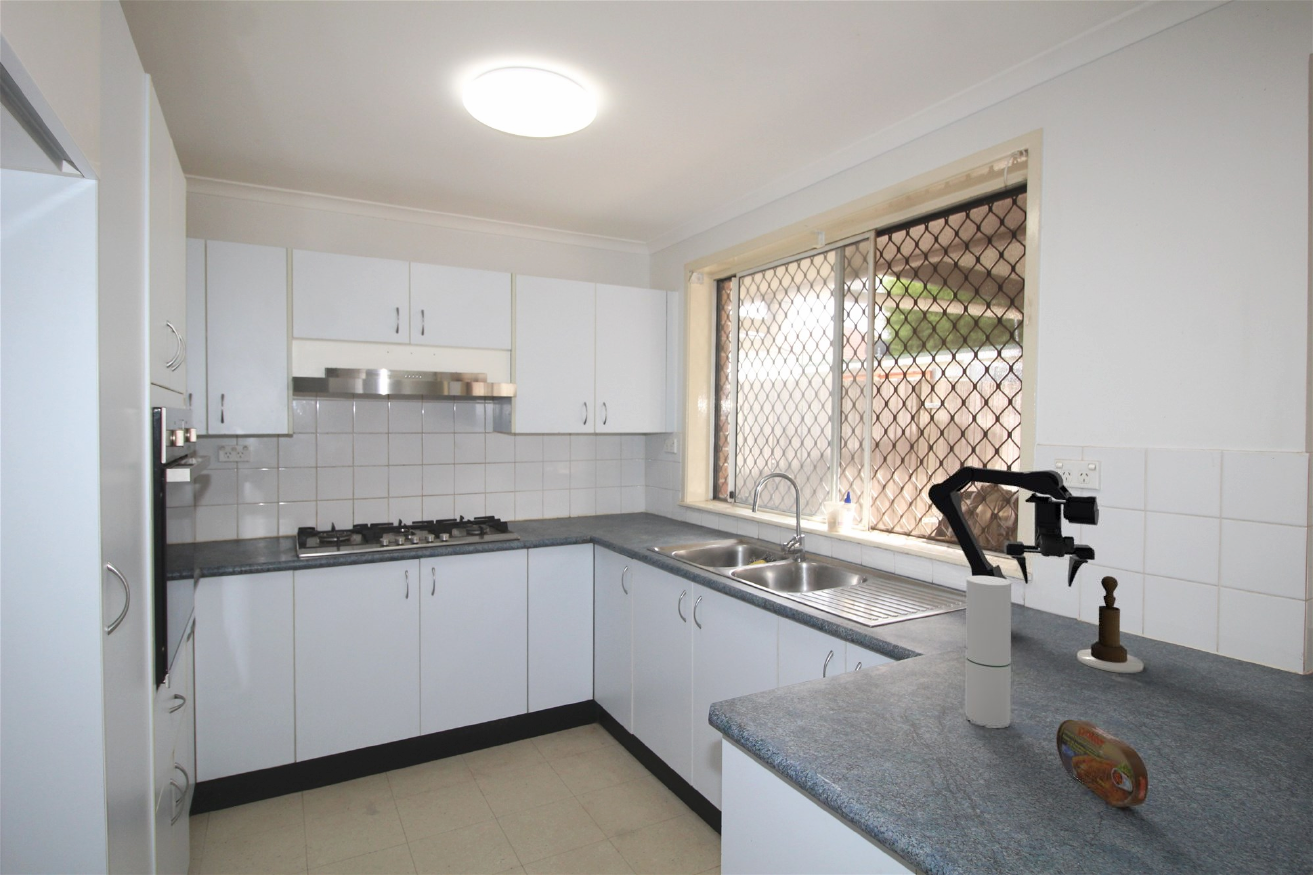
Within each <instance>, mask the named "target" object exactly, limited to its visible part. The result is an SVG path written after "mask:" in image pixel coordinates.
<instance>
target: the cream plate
mask: <svg viewBox="0 0 1313 875" xmlns="http://www.w3.org/2000/svg"><path fill="white" fill-rule="evenodd" d="M1076 654H1077V660H1078V661H1079V663H1082V664H1084V665H1086V666H1089V667H1091V668H1094V669H1098V670H1101V671H1107V672H1113V673H1119V674H1136V673H1141V672H1142V671H1143V670H1144V662H1143V661H1142V660H1140V659H1139V658H1137V657H1135V656H1132V655H1129V654H1127V661H1126V662H1123V663H1115V662H1109V661H1103V660H1099V659H1097V658H1094V657H1093V656H1091V648H1090V649H1080V650H1079V651H1078V652H1077V653H1076Z"/></svg>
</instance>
